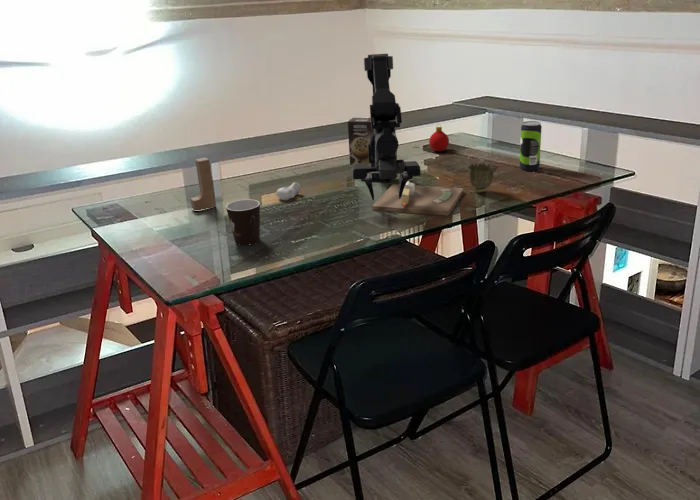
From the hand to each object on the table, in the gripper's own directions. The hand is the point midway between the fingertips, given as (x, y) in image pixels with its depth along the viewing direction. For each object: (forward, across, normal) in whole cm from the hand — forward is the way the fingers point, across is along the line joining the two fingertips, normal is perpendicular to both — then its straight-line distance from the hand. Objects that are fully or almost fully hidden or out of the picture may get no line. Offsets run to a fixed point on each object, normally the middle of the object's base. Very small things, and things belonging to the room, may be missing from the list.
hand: (386, 199), depth 190 cm
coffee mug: (+4, -38, -18) cm, 43 cm away
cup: (+2, +29, +8) cm, 30 cm away
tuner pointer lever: (+1, +6, +3) cm, 7 cm away
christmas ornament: (+3, +25, +56) cm, 62 cm away
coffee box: (+3, -3, +45) cm, 45 cm away
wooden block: (+4, -54, +11) cm, 55 cm away
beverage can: (+2, +50, +27) cm, 57 cm away
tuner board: (+3, +10, +4) cm, 11 cm away
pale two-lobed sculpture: (+4, -28, +16) cm, 33 cm away
